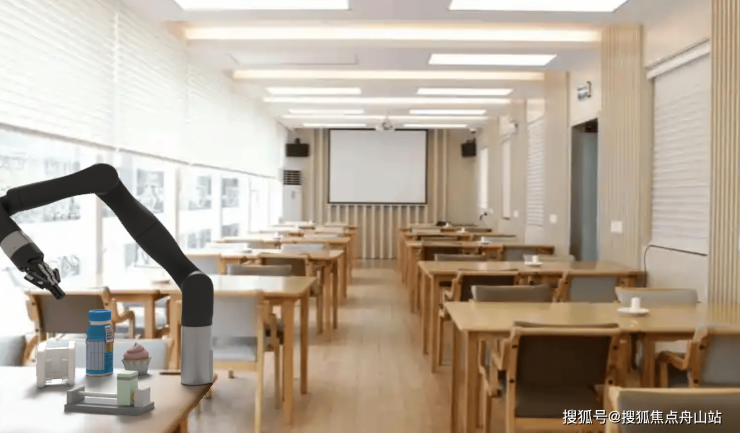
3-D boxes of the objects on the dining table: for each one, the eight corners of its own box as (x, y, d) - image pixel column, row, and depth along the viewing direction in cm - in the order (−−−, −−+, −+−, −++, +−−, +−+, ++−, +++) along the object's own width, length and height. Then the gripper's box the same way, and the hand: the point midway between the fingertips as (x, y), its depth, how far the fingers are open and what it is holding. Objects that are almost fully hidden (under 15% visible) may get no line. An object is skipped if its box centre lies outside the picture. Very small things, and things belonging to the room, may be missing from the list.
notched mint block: (116, 404, 193) (116, 373, 192) (125, 400, 197) (125, 370, 196) (129, 405, 192) (130, 374, 192) (137, 401, 196) (138, 371, 196)
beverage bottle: (87, 377, 231) (87, 313, 231) (83, 372, 238) (83, 309, 238) (116, 375, 235) (116, 311, 235) (111, 370, 242) (111, 308, 242)
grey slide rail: (64, 410, 193) (64, 387, 193) (82, 402, 201) (82, 380, 201) (138, 415, 189) (139, 392, 189) (154, 407, 197) (154, 384, 197)
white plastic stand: (74, 388, 218) (74, 348, 218) (34, 390, 214) (35, 350, 214) (75, 377, 232) (75, 339, 232) (38, 379, 228) (38, 341, 228)
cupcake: (119, 372, 239) (119, 340, 239) (149, 369, 243) (149, 338, 243) (122, 378, 231) (122, 345, 231) (153, 375, 235) (154, 343, 235)
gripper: (15, 242, 197) (56, 290, 195) (45, 240, 210) (85, 285, 208) (-4, 261, 199) (37, 310, 196) (28, 259, 211) (67, 304, 209)
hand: (62, 297), depth 202 cm, fingers closed
